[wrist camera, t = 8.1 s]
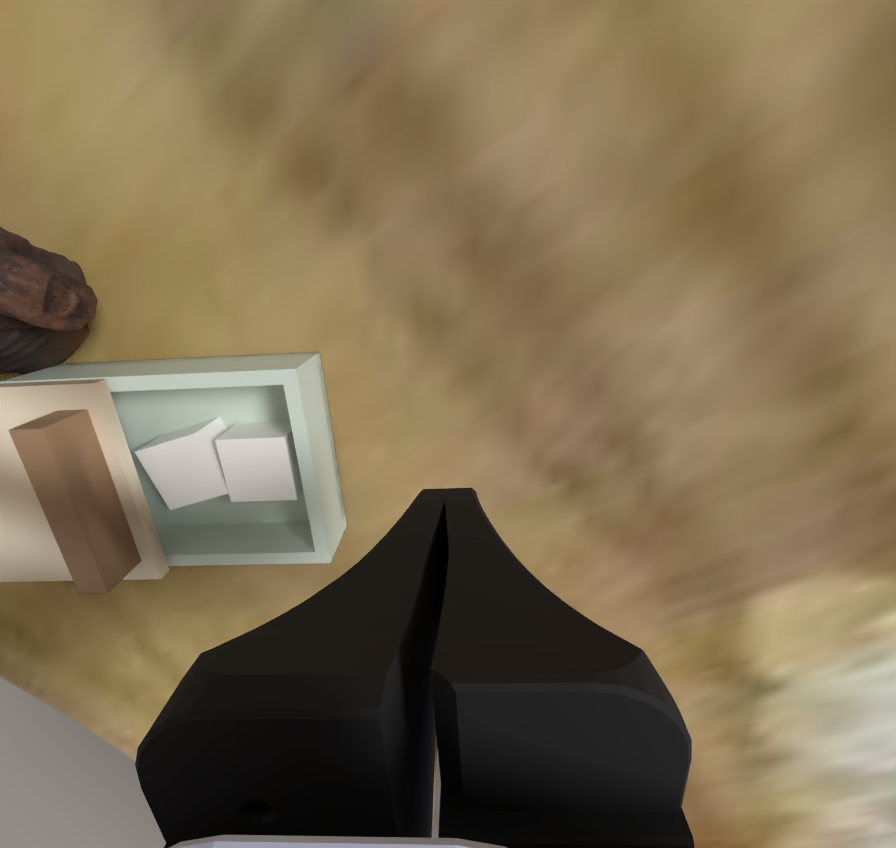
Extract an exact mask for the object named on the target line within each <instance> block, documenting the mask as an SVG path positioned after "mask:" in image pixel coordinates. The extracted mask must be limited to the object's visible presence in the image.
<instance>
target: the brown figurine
mask: <svg viewBox="0 0 896 848" xmlns="http://www.w3.org/2000/svg"><path fill="white" fill-rule="evenodd" d="M96 306H97V298H96V296H95V294H94V292H93V290H92V288H91V287H90V286H88V285H87V284H86V281H85V277H84V274H83V272H82V270H81V268H80V266H79V265H78V264H77V263H76V262H73V261H70V260H68V259H67V258H66V257H64V256H63V255H59V254H56V253H52V252H48V251H46V250H44V249H41V248H37V247H35V246H33V245H31V244H30V243H29V241H28V240H26V239H25V238H22V237H21V236H19V235H16V234H14V233H11V232H9V231H6V230H4V229H3V228H1V227H0V373H22V374H27V373H32V372H35V371H39V370H42V369H46V368H49V367H52V366H54V365H56V364H59V363H61V362H63V361H64V360H65V359H67V358H68V357H69V356H71V355H72V354H73V352H74V351H75V349H76V348H78V347H79V346H80V345H81V343H82V342H83V341H84V339H85V338H86V337H87V335H88V334H89V329H88V328H87V327H86V326H85V325H86V324H87V323H88V322H89V321H91V320H92V319H93V318H94V317H95V313H96Z"/></svg>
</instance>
